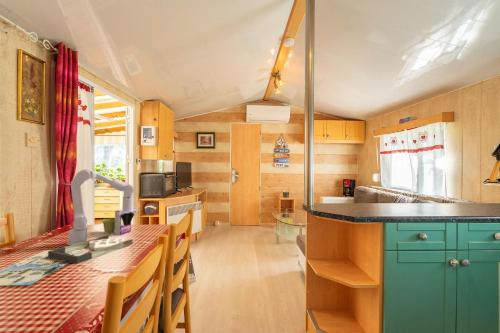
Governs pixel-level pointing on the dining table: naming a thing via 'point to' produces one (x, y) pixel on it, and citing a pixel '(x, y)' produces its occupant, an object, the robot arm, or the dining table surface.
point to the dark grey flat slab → (68, 256)
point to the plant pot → (109, 225)
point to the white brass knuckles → (104, 243)
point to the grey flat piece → (100, 251)
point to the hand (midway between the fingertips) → (127, 225)
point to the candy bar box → (120, 225)
